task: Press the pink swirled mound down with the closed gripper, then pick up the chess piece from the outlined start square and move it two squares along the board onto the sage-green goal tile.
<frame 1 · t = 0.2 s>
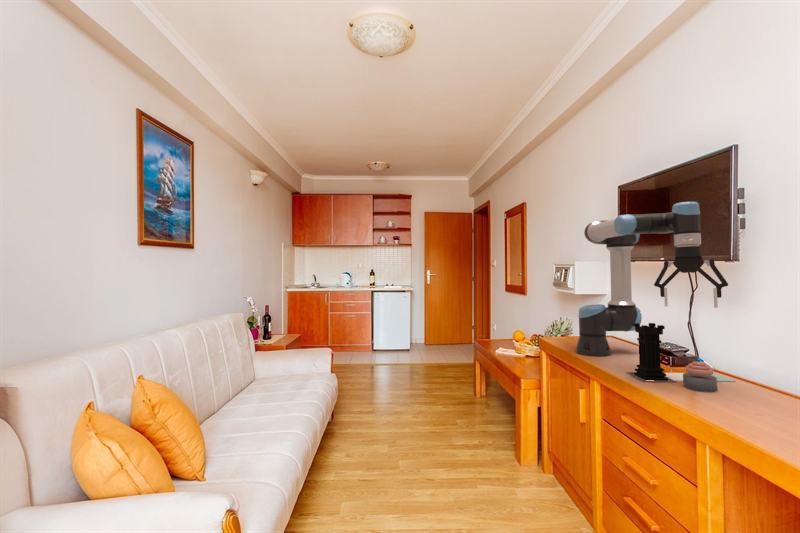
hand: (690, 306, 128), 27 cm above the sideboard, tool pointing down, fingers open, 13 cm apart
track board: (680, 377, 137), on the sideboard
chess piece: (650, 378, 138), on the sideboard
pink swirled mound: (699, 367, 125), point 7 cm above the sideboard, slide at 0.0 cm
button base: (699, 387, 125), on the sideboard
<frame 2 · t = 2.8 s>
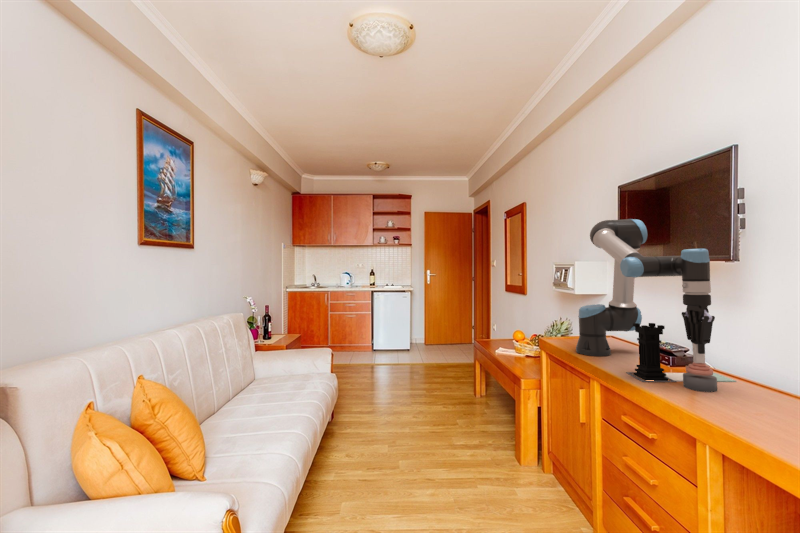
hand: (699, 362, 125), 9 cm above the sideboard, tool pointing down, fingers closed
pink swirled mound: (699, 367, 125), point 7 cm above the sideboard, slide at 0.2 cm, touching gripper
everything else where it was.
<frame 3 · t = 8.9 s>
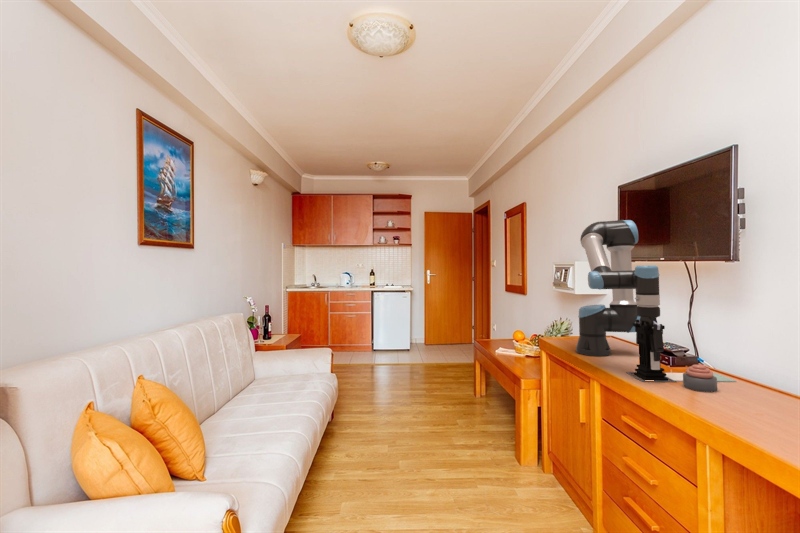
hand: (650, 366, 138), 4 cm above the sideboard, tool pointing down, fingers closed on chess piece, 6 cm apart
chess piece: (650, 377, 138), on the sideboard, touching gripper
pink swirled mound: (699, 370, 125), point 6 cm above the sideboard, slide at 1.1 cm
when the fingers open (6 cm above the sideboard, at t = 14.9 s): chess piece drops 1 cm, resting on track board.
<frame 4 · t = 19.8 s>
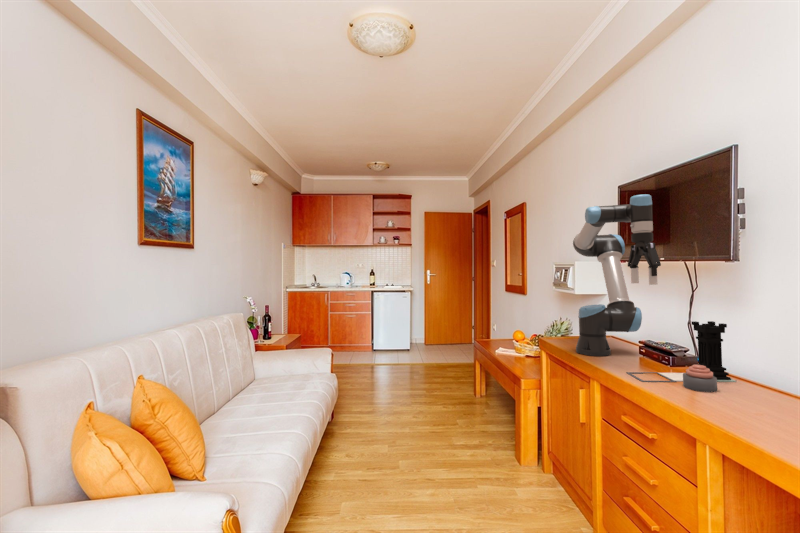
hand: (643, 283, 150), 35 cm above the sideboard, tool pointing down, fingers open, 13 cm apart
chess piece: (710, 377, 135), resting on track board
everything else where it was.
at the end: chess piece 0.1 cm from the target spot on the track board, point 0.2 cm above the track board's base; chess piece tilted 0°; pink swirled mound slide at 1.1 cm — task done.
